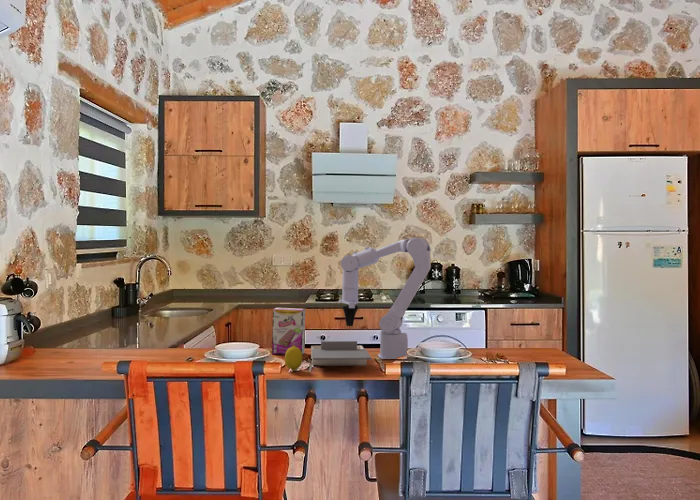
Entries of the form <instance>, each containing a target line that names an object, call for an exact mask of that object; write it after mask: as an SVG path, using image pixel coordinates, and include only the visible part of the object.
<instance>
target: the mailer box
mask: <svg viewBox="0 0 700 500" xmlns="http://www.w3.org/2000/svg"><path fill="white" fill-rule="evenodd" d="M312 349H321V345H311V346H310V360H311V359H312V361H311V365H312V364H313V365H319V366H318V367H340V366H343V367H345V366H350V367H351V366H352V367H353V366H355V367H356V366H358V367H361V366H363V367H364V366H368V364H367V361H368V360H313V354H312ZM357 349H365V348H364V346H363V345H357Z"/></svg>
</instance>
